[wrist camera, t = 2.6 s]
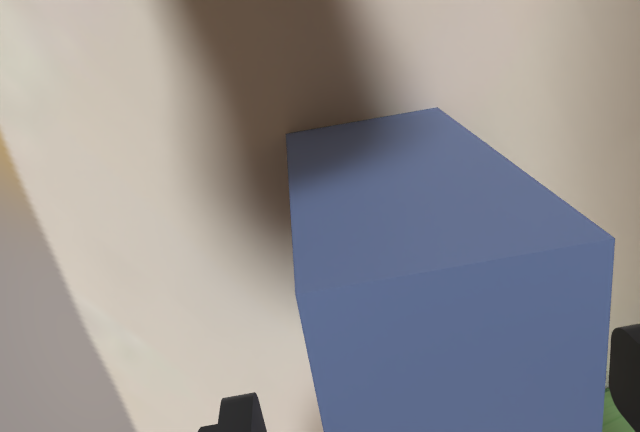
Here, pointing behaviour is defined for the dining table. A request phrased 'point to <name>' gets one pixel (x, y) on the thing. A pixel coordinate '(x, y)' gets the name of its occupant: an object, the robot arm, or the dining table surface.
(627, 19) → the dining table surface
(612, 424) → the edible corn
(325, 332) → the blue carton
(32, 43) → the dining table surface
